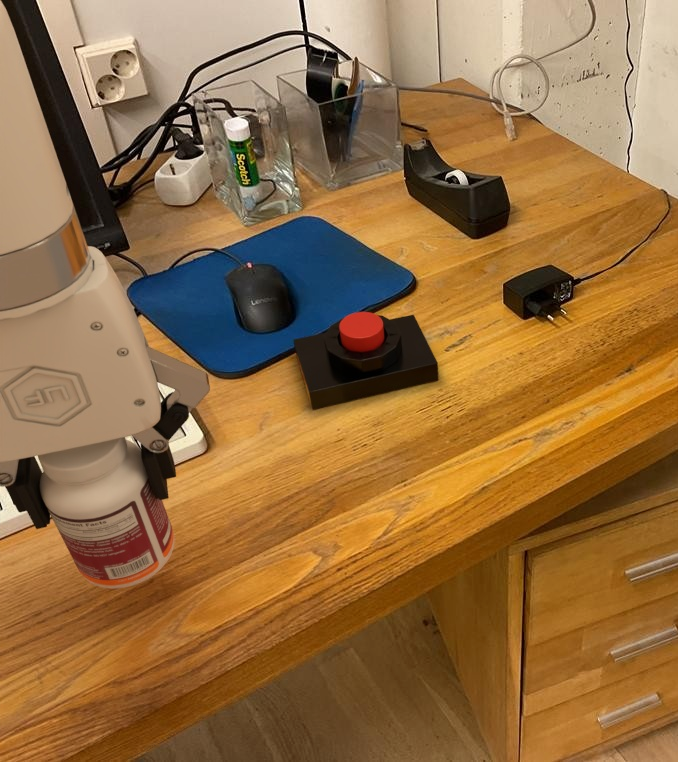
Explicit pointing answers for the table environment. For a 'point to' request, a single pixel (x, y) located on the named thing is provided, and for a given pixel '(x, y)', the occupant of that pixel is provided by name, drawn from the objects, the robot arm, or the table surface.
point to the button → (361, 331)
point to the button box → (364, 363)
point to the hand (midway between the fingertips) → (103, 495)
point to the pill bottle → (107, 512)
